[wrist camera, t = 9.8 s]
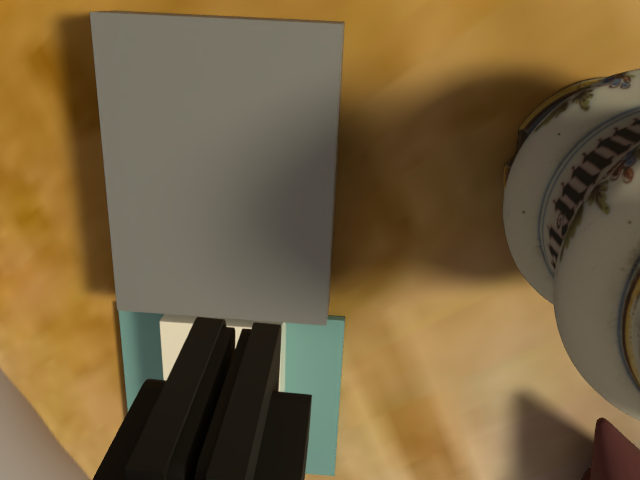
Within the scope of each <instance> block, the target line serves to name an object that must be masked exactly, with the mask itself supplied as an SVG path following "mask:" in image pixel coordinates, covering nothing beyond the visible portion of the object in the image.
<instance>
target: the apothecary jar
mask: <svg viewBox="0 0 640 480" xmlns="http://www.w3.org/2000/svg"><path fill="white" fill-rule="evenodd" d="M518 135H519V137H518V143H517V152H516V155H515V156H514V157H513V158H512V159H511V160H510V161H509V162H507V163H506V164H505V166H504V176H503V184H504V199H503V223H504V230H505V235H506V239H507V243H508V246H509V249H510V252H511V255H512V257H513V259H514V261H515V263H516V265H517V267H518V269H519V270H520V272H521V273H522V275H523V276H524V278H525V279H526V280H527V281H528V283H529V284H530V285H531V286H532V287H533V288H534V289H535V290H536V291H537V292H538V293H539V294H540V295H541V296H543V297H544V298H545V299H546V300H548V301H549V302H551V303H552V304H553V305H554V311H555V317H556V322H557V326H558V330H559V334H560V337H561V339H562V342H563V344H564V347H565V349H566V351H567V353H568V355H569V357H570V359H571V361H572V362H573V364H574V366H575V367H576V369H577V370H578V371H579V373H580V374H581V375H582V377H583V378H584V379H585V380H586V381H587V382H588V384H589V385H590V386H591V387H592V388H593V389H594V390H596V391H597V392H598V393H599V394H600V395H601V396H602V397H603V398H604V399H606V400H607V401H608V402H609V403H611V404H612V405H613V406H615V407H616V408H618V409H619V410H621V411H622V412H624V413H626V414H627V415H629V416H631V417H633V418H635V419H637V420H639V421H640V69H636V70H631V71H626V72H623V73H619V74H616V75H612V76H609V77H605V78H597V79H592V80H587V81H582V82H580V83H578V84H575V85H572V86H570V87H567V88H565V89H563V90H561V91H560V92H558V93H556V94H555V95H553V96H551V97H550V98H548V99H547V100H546V101H544V102H543V103H542V104H541V105H540V106H538V107H537V108H536V109H535V110H534V111H533V112H532V113H531V114H530V115H529V116H528V118H527V119H526V120H525V121H524V123H523V124H522V125H521V127H520V128H519V130H518Z"/></svg>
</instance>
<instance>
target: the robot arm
mask: <svg viewBox="0 0 640 480" xmlns="http://www.w3.org/2000/svg"><path fill="white" fill-rule="evenodd" d="M281 332H282V327H281V325H280V324H269V323H259V322H254V323H253V325H252V329H245V328H243V329H242V331H241V333H240V336H239V339H238V342H237V345H236V348H235V328H234V327H226V321H225V319H216V318H206V317H197V318H196V319H195V321H194V323H193V325H192V327H191V329H190V332H189V334H188V336H187V338H186V340H185V342H184V344H183V346H182V349H181V351H180V353H179V355H178V357H177V359H176V361H175V363H174V366H173V368H172V370H171V372H170V374H169V376H168V378H167V380H157V379H147V380H145V382H144V383H143V385H142V386H141V388H140V390H139V392H138V394H137V396H136V398H135V400H134V401H133V403H132V405H131V407H130V409H129V411H128V413H127V415H126V417H125V419H124V421H123V423H122V424H121V426H120V428H119V430H118V432H117V434H116V436H115V438H114V440H113V442H112V444H111V445H110V447H109V449H108V451H107V453H106V455H105V457H104V459H103V461H102V463H101V465H100V466H99V468H98V470H97V472H96V474H95V476H94V478H93V480H304V479H305V470H306V461H307V451H308V440H309V429H310V417H311V404H312V395H310V394H299V393H289V392H279V374H280V353H281Z"/></svg>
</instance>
